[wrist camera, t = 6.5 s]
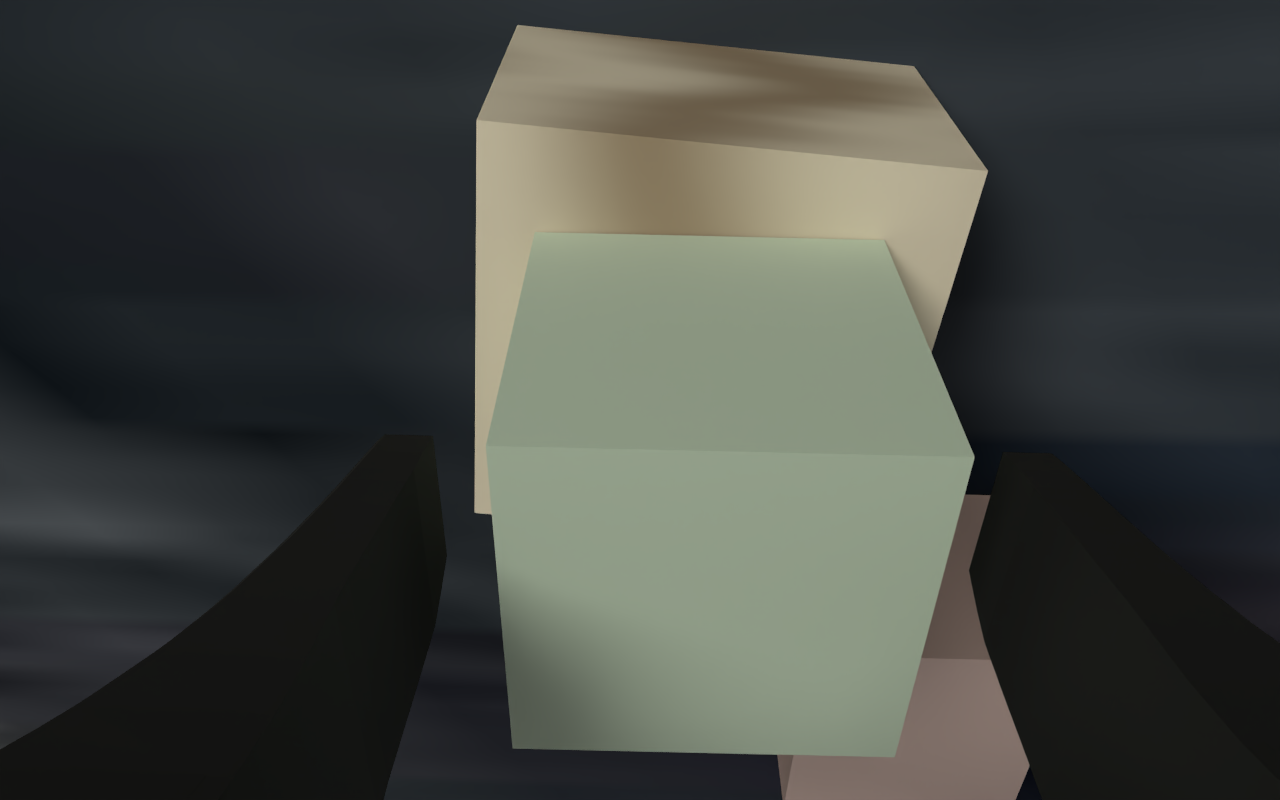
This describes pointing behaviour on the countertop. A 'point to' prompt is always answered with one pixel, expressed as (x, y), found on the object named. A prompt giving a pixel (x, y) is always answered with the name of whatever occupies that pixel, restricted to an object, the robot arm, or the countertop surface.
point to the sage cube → (718, 495)
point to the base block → (707, 165)
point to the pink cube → (935, 712)
